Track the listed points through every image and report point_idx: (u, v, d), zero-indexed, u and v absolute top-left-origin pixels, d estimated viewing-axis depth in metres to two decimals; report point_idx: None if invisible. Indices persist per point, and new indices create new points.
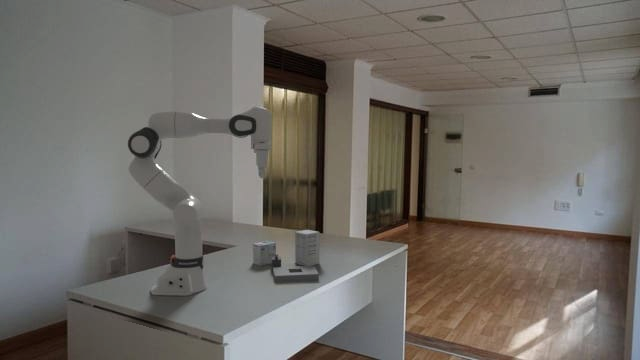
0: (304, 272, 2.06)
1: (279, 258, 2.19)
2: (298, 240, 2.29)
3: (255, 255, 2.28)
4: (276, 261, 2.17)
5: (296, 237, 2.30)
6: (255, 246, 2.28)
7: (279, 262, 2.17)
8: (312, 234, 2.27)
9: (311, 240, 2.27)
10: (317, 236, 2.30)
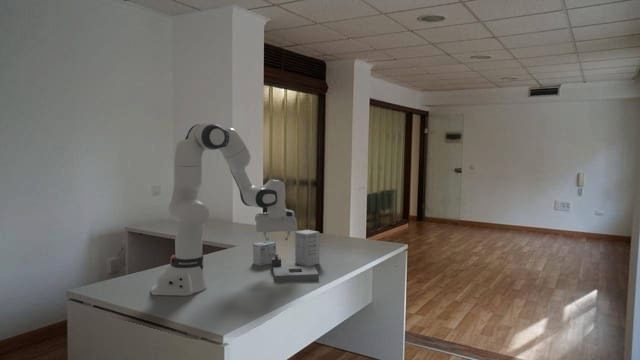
0: (304, 272, 2.06)
1: (279, 258, 2.19)
2: (298, 240, 2.29)
3: (255, 255, 2.28)
4: (276, 261, 2.17)
5: (296, 237, 2.30)
6: (255, 246, 2.28)
7: (279, 262, 2.17)
8: (312, 234, 2.27)
9: (311, 240, 2.27)
10: (317, 236, 2.30)
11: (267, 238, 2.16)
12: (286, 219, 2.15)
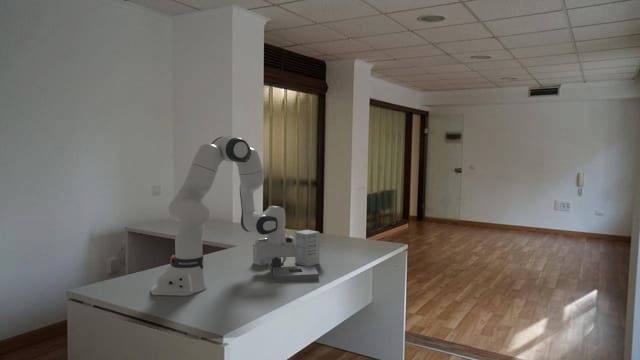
0: (304, 272, 2.06)
1: (279, 258, 2.19)
2: (298, 240, 2.29)
3: (255, 255, 2.28)
4: (276, 261, 2.17)
5: (296, 237, 2.30)
6: None
7: (279, 262, 2.17)
8: (312, 234, 2.27)
9: (311, 240, 2.27)
10: (317, 236, 2.30)
11: (270, 264, 2.18)
12: (285, 245, 2.16)
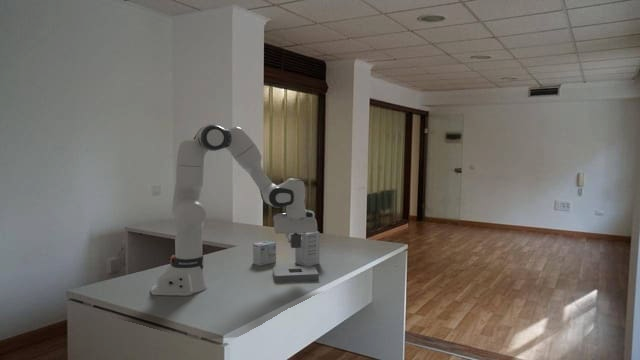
0: (304, 272, 2.06)
1: (299, 234, 2.07)
2: None
3: (255, 255, 2.28)
4: (296, 237, 2.05)
5: None
6: (255, 246, 2.28)
7: (299, 238, 2.05)
8: (312, 234, 2.27)
9: (311, 240, 2.27)
10: (317, 236, 2.30)
11: (289, 240, 2.06)
12: (305, 220, 2.05)
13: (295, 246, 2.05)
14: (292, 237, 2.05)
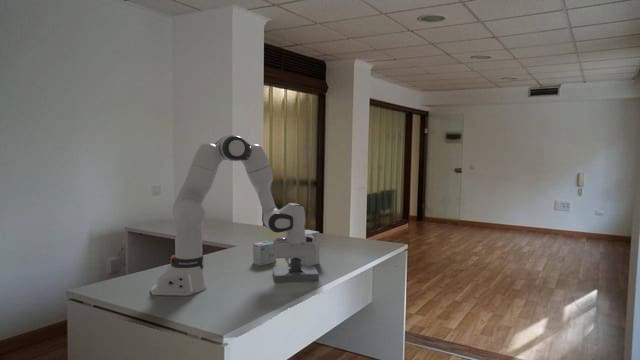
0: (304, 272, 2.06)
1: (298, 258, 2.08)
2: None
3: (255, 255, 2.28)
4: (296, 261, 2.06)
5: None
6: (255, 246, 2.28)
7: (299, 262, 2.06)
8: (312, 234, 2.27)
9: None
10: (317, 236, 2.30)
11: (289, 264, 2.07)
12: (305, 244, 2.06)
13: (295, 270, 2.06)
14: (292, 262, 2.06)
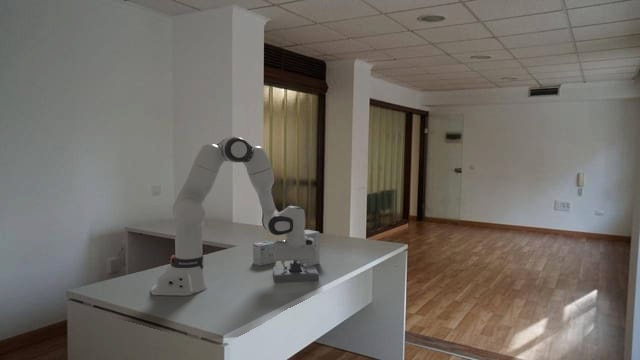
0: (304, 272, 2.06)
1: (298, 263, 2.08)
2: None
3: (255, 255, 2.28)
4: (295, 266, 2.06)
5: None
6: (255, 246, 2.28)
7: (298, 267, 2.06)
8: (312, 234, 2.27)
9: None
10: (317, 236, 2.30)
11: (285, 267, 2.07)
12: (305, 247, 2.06)
13: None
14: (292, 266, 2.06)
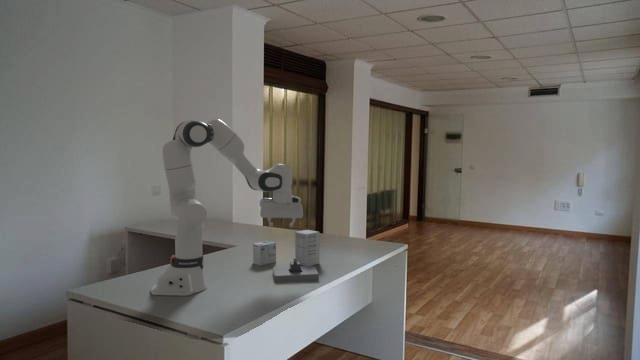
0: (304, 272, 2.06)
1: (298, 263, 2.08)
2: (298, 240, 2.29)
3: (255, 255, 2.28)
4: (295, 266, 2.06)
5: (296, 237, 2.30)
6: (255, 246, 2.28)
7: (298, 267, 2.06)
8: (312, 234, 2.27)
9: (311, 240, 2.27)
10: (317, 236, 2.30)
11: (271, 224, 2.08)
12: (291, 205, 2.08)
13: None
14: (292, 266, 2.06)
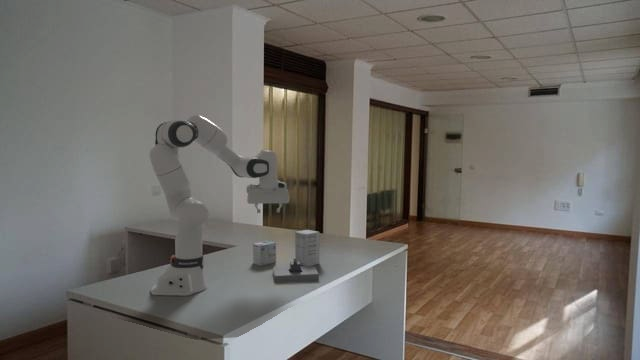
0: (304, 272, 2.06)
1: (298, 263, 2.08)
2: (298, 240, 2.29)
3: (255, 255, 2.28)
4: (295, 266, 2.06)
5: (296, 237, 2.30)
6: (255, 246, 2.28)
7: (298, 267, 2.06)
8: (312, 234, 2.27)
9: (311, 240, 2.27)
10: (317, 236, 2.30)
11: (259, 210, 2.12)
12: (278, 190, 2.11)
13: None
14: (292, 266, 2.06)
